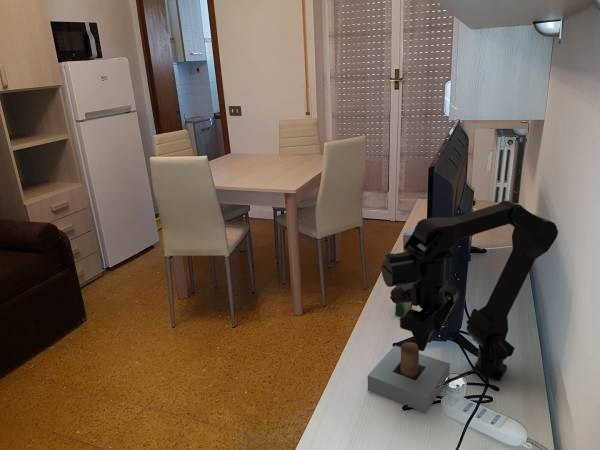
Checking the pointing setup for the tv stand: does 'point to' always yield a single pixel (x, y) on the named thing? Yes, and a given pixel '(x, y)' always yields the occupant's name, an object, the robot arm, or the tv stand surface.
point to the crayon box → (402, 308)
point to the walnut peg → (409, 360)
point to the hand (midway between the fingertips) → (429, 340)
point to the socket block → (408, 380)
